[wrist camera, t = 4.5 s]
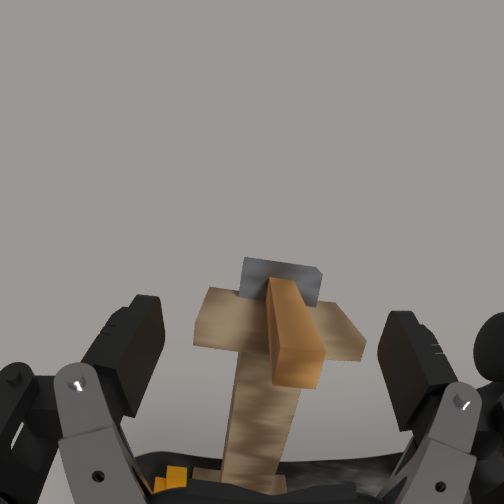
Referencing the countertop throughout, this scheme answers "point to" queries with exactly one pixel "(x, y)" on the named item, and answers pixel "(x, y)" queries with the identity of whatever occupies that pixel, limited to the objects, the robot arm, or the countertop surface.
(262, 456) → the stand
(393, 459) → the countertop surface
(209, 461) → the countertop surface
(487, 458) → the robot arm
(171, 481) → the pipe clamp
